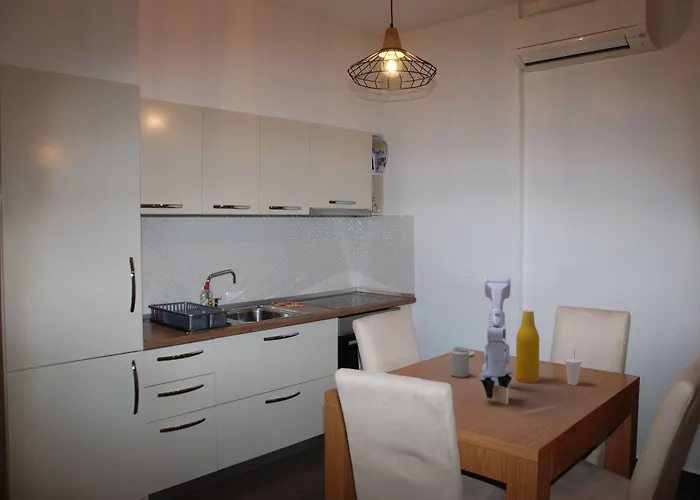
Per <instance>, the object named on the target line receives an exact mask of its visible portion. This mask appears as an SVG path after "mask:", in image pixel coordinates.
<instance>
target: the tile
mask: <svg viewBox="0 0 700 500" xmlns="http://www.w3.org/2000/svg"><path fill="white" fill-rule="evenodd" d="M488 399H489V400H491V401H494V402H497V403H499V404H502V405H508V404H509V387H507V388H505V387H502V386H500V385H497V384H494V387H493V396H492V399H490V398H488Z"/></svg>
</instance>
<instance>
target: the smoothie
mask: <svg viewBox="0 0 700 500" xmlns="http://www.w3.org/2000/svg"><path fill="white" fill-rule="evenodd" d="M572 356H573V358H566V359H564V363H565V369H566V379H567V384H568V385H569V384H571V385H570V386H578V385H577V384H578V383H579V379H580V378H579V377H580V371H581V365H582V360H581V359H578V358H577V359H576V358H575V357H576V350H575V349H573V355H572Z"/></svg>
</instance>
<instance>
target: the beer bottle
mask: <svg viewBox="0 0 700 500" xmlns="http://www.w3.org/2000/svg"><path fill="white" fill-rule="evenodd" d="M535 323H536V322H535V313H534V310H523V311H522V316H521V323H520V327H519V329H518V331H517V333H516V342H515V348H516V350H515V355H516V356H515V378H516V380H517V382H520V383H523V384H524V383H526V384H535V383H538V382H539V380H540V336H539V332H538V329H537V327H536V324H535Z"/></svg>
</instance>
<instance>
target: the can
mask: <svg viewBox="0 0 700 500" xmlns="http://www.w3.org/2000/svg"><path fill="white" fill-rule="evenodd" d="M450 357H451V358H450V360H451V361H450V365H451V366H450V367H451V368H450V371H451V372H450V374H451V375H452V377H455V378H459V379H463V378H467V377H468V376H469V374H470V352H469V351H468V348H466V347H462V346H457V347H453V348H452V350H451V352H450Z"/></svg>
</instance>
